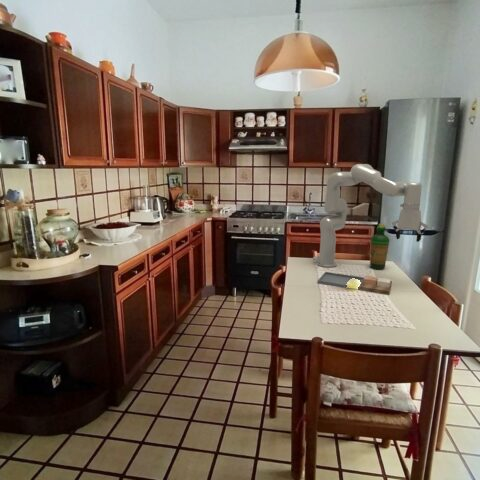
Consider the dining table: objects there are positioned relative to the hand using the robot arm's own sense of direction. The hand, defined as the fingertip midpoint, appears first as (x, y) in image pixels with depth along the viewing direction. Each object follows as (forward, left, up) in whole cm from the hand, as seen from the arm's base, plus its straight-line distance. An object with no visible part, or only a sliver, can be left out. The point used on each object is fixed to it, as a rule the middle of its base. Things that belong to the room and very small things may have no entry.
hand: (407, 240), depth 177 cm
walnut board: (-12, -8, -25) cm, 29 cm away
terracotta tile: (-15, -8, -23) cm, 29 cm away
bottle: (-15, +30, -26) cm, 42 cm away
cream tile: (-9, -8, -23) cm, 26 cm away
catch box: (-30, -8, -25) cm, 40 cm away
